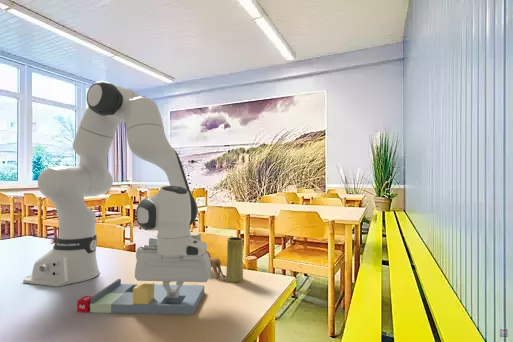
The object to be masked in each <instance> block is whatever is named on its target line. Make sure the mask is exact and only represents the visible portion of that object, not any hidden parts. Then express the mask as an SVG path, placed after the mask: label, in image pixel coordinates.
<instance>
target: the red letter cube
mask: <svg viewBox="0 0 513 342" xmlns="http://www.w3.org/2000/svg"><path fill="white" fill-rule="evenodd" d="M93 296H94V295H90V296H89V295H85V296H82V297H81V298H79V299H77V300H76V304H77V305H76V312H77V313H85V314H88V313H89V312H90V301H91V297H93Z"/></svg>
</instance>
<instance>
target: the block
mask: <svg viewBox="0 0 513 342" xmlns="http://www.w3.org/2000/svg"><path fill="white" fill-rule="evenodd" d="M137 284H138V285H137V286H135V287H134V288H133V304H148V303H149V302H150V301H151V300H152V299H153V298H154V284H155V283H153V282H140V283H137Z"/></svg>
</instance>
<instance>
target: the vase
mask: <svg viewBox="0 0 513 342" xmlns="http://www.w3.org/2000/svg"><path fill="white" fill-rule="evenodd" d="M243 240H244V239H243V238H242V237H239V236H238V237H237V236H234V237H233V236H232V237H228V238H227V247H226V248H227V253H226V260H227V261H226V272H225V273H226V274H225V276H226V278H225V281H226V282H228V283H233V284H235V283H241V282H243V281H244V267H243V265H244V264H243V262H244V261H243V255H244V254H243V250H244V249H243V247H244V246H243V243H244V242H243Z"/></svg>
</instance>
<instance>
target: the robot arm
mask: <svg viewBox="0 0 513 342" xmlns="http://www.w3.org/2000/svg"><path fill="white" fill-rule="evenodd" d="M86 103H87V106H88V107H87V109H86V110H85V112H84V114H83V116H82V117H81V120H80V122H79V123H80V124H79V126H78V129H77V131H76V134H75V136H74V138H73V139H74V140H73V142H72V149H73V151H74V152H75V153H76V155H78V157H79V164H78V166H74V165H73V166H71V165H58V166H52V167H47V168H45V169H43V170H42V171H41V172H40V174H39V176H38V178H37V187H38V190H39V192H40V193H41V194H42V195H43V196H44V197H46V198H48V199H49V200H50V202H51V203H52V204H53V206H54V208H55V210H56V213H57V219H58V237H56V238H55V239H53V240H50V245H53V244H54V245H53V247H52V249H50V250H49V251H48V252H46V253H45V254H44V255H42V257H40V258H38V259H37V260H36V261H35V263H34V265H33V268H32V273H30V274H29V275H27V276H26V277H24V278H23V281H22V283H23V284H25V283H26V284H32V285H33V284H34V285H42V286H51V287H61V286H66V285H69V284H76V283H79V282H80V283H81V282H84V281H88V280H91V279H93V278H95V277H97V276H99V275H100V270H99V266H98V261H97V260H98V259H97V253H96V252H97V251H96V250H97V246H98V245H97V244H98V240H97V239H98V238H97V234H96V224H97V223H96V219H97V218H96V217H97V216H96V213H95V211H93V209H92V208H88V206H87V204H86V202H85V198H87V197H88V198H89V197H97V196H101V195H103V194H104V195H105V194H107V193H108V192H109V191H110V190H111V189H112V188H113V182H114V181H113V180H114V179H113V175H112V174H111V173H110V171H109V169H108V156H109V152H110V149H111V146H112V144H113V141H114V138H115V135H116V132H117V129H118V126H119V125H120V124H122V123H125V128H126V129H125V130H126V131H125V132H126V138H127V139H126V140H127V143H128V147H129V149H130V151H131V152H132V154H134V155H135V156H136V157H138V158H139V159H141V160H143V161H145V162H148V163H150V164H152V165H154V166H156V167H158V168H159V169H161V171H163V172H164V173H165V175H166V177H167V180H168V183H169V185H167V186H166V185H165V186H162V187H161V188H160V189H159V191H158V192H157V193H155V194H154V195H151V196H150V197H145V198H143V199H142V200H141V201H140V202H139V204H138V205H137V207H136V209H135V210H136V211H135V218H136V220H135V221H136V223H137V224H138V226H139V227H140V228H142V229H143V230H144V231H157V235H156V236H157V245H151V246H149V245H147V244H146V245H144V244H143V245H141V246H140V247H139V246H138V248H137V249H136V252H135V259H136V263H135V268H134V278H135V280H136V281H138V282H162V285H163V287H164V288H165V290H166V291H167V298H178V297H179V290H180V288H181V286H182V285H184V283H207V282H208V281H209V280H210V278H211V276H212V267H211V263H210V257H209V255H208V253H209V252H208V250H207V249H208V243H207V242H204V241H202V240H201V241H199V240H196V239H194V238H191V233H192V232H191V229H190V226H191V225H193V223H194V222H195V220H196V219H197V218H198V212H199V207H198V205H197V202H196V200H195V198H194V196H193V194H192V192H191V190H190V189H191V188H190V186H189V182H188V179H187V177H186V173H185V170H184V168H183V165H182V161H181V159H180V156H179V153H178V152H177V151H176V150H175V148H173V147H172V145H171V143H170V142H169V141H168V138H167V135H166V133H165V128H164V124H163V123H164V122H163V118H162V114H161V112H160V109H159V106H158V105H157V102H155V101H154V100H153V99H151V98H149V97H147V96H145V95H141V94H139V93H138V92H136V91H134V90H132V89H129V88H125V87H122V86H119V85H116V84H113V82H108V81H104V80H99V81H95V82H94V83H93V84H92V85H90V87H89V88H88V89H87V93H86ZM205 251H207V252H208V253H207V252H205ZM171 282H172V283H173V282H175V285H178V287H177V289H171V287H170V285H171V284H170V283H171Z"/></svg>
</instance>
